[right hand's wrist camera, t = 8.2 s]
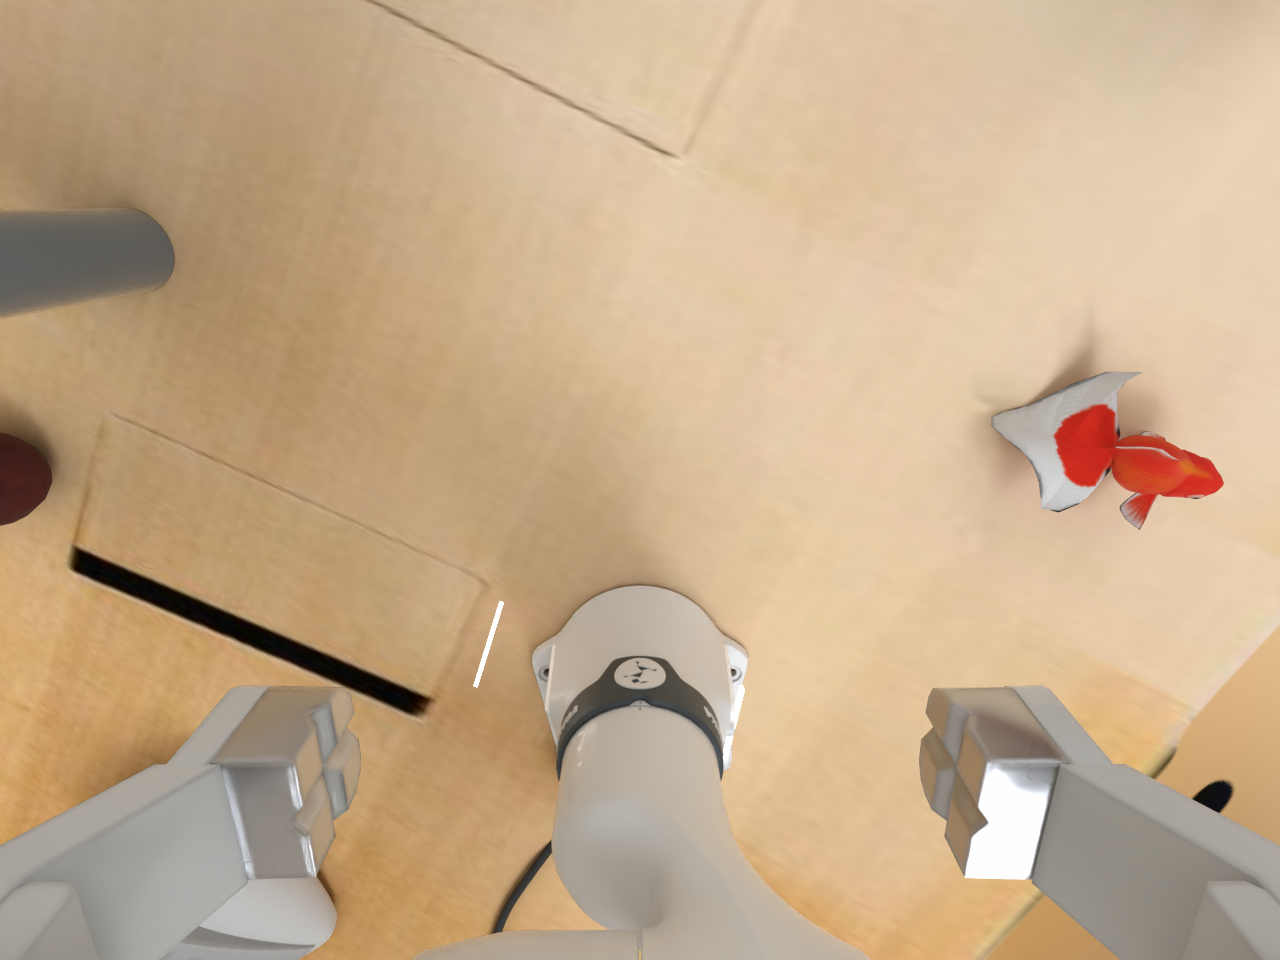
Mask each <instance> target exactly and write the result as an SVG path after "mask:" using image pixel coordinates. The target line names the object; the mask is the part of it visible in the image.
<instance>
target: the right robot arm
mask: <svg viewBox="0 0 1280 960" xmlns="http://www.w3.org/2000/svg"><path fill="white" fill-rule="evenodd" d="M503 603H504V602H501V601H500V603H499V606H498V609H497V612H496V615H495V618H494V622H493V625H492V628H491V631H490V635H489V638H488V641H487V644H486V648H485V651H484V654H483V657H482V661H481V664H480V667H479V670H478V674H477V677H476V680H475V683H474V686H475V687H477V686H478V683H479V680H480V677H481V674H482V671H483V667H484V664H485V661H486V658H487V654H488V651H489V648H490V645H491V642H492V638H493V635H494V632H495V629H496V625H497V622H498V619H499V616H500V613H501V609H502V606H503ZM532 665H533V669H534V672H535V676H536V679H537V683H538V686H539V690H540V693H541V696H542V700H543V703H544V707H545V712H546V714H547V717H548V720H549V724H550V727H551V731H552V734H553V738H554V741H555V745H556V754H557V760H556V762H557V774H558V779H559V789H558V796H557V803H556V811H555V818H554V826H553V833H552V840H551V841H550V843H549V844H548V845H547V846H546V848H545V849H544V850H543V852H542V853H541V854H540V856H539V857H538V858H537V860H536V861H535V862H534V864H533V865H532V867H531V868H530V869H529V871H528V872H527V874H526V875H525V876H524V878H523V879H522V880H521V882H520V883H519V885H518V886H517V888H516V889H515V890H514V892H513V893H512V895H511V896H510V898H509V900H508V901H507V903H506V905H505V906H504V908H503V910H502V912H501V914H500V916H499V919H498V921H497V924H496V926H495V929H494V932H493V934H490V935H485V936H480V937H475V938H470V939H466V940H462V941H458V942H454V943H450V944H446V945H442V946H438V947H434V948H430V949H426V950H423V951H420V952H419V953H418V954H416V955H415V956H414V957H413V958H412V959H411V960H639V950H640V951H641V960H871V959H870V958H869V957H868V956H867V955H866V954H865V953H864V952H863V951H861V950H860V949H858V948H856V947H854V946H852V945H850V944H848V943H846V942H844V941H843V940H841V939H839V938H837V937H835V936H833V935H831V934H830V933H828V932H826V931H825V930H823V929H821V928H820V927H818V926H817V925H815V924H813V923H812V922H810V921H809V920H808V919H806V918H805V917H804V916H802V915H801V914H800V913H798V912H797V911H796V910H794V909H793V908H792V907H791V906H790V905H789V904H787V903H786V902H785V901H784V900H783V899H782V898H781V897H780V896H779V895H778V894H777V893H776V892H775V891H773V890H772V889H771V888H770V887H769V886H768V885H767V883H766V882H765V881H764V880H763V879H762V878H761V877H760V876H759V874H758V873H757V872H756V871H755V870H754V868H753V867H752V866H751V865H750V863H749V862H748V861H747V859H746V858H745V856H744V855H743V853H742V852H741V850H740V848H739V846H738V844H737V842H736V840H735V838H734V836H733V833H732V829H731V826H730V822H729V818H728V815H727V811H726V806H725V802H724V797H723V792H722V786H721V779H722V775H723V770H728V769H729V768H730V764H731V757H732V747H731V742H732V738H733V735H734V731H735V726H736V722H737V718H738V714H739V710H740V706H741V702H742V698H743V694H744V687H743V686H742V683H743V679H744V676H745V672H746V669H747V665H748V654H747V651H746V650H745V649H744V648H743V647H742V646H741V645H740V644H738V643H737V642H735V641H733V640H732V639H730V638H728V637H726V636H725V635H723V634H722V633H721V632H720V631H719V630H718V629H717V628H716V626H715V625H714V623H713V622H712V621H711V619H710V618H709V617H708V615H707V614H706V613H705V612H704V611H703V610H702V609H701V608H700V607H699V606H698V605H696V604H695V603H694V602H693V601H691V600H689V599H688V598H686V597H684V596H683V595H681V594H678V593H676V592H673V591H671V590H668V589H664V588H660V587H654V586H642V585H638V586H626V587H620V588H616V589H612V590H609V591H607V592H604V593H602V594H600V595H598V596H596V597H594V598H592V599H591V600H589V601H588V602H586V603H585V604H584V605H582V606H581V607H580V608H579V609H578V610H577V611H576V612H575V613H574V614H573V615H572V617H571V618H570V619H569V621H568V622H567V623H566V625H565V626H564V628H563V629H562V630H561V631H560V632H559V633H558V634H557V635H555V636H554V637H552V638H550V639H548V640H547V641H545V642H543V643H542V644H540V645H539V646H538V647H537V648H536V649H535V650H534V652H533V655H532ZM545 669H549V672H547V671H546V670H545ZM731 669H735V670H734V671H733V672H731ZM353 714H354V709H353V704H352V699H351V694H350V692H349V691H348V690H347V689H345V688H344V687H309V686H274V687H273V686H238V687H235V688H232V689H230V690H229V691H228V692H227V693H226V694H225V696H224V697H223V698H222V699H221V700H220V701H219V703H218V704H217V705H216V706H215V707H214V709H213V710H212V711H211V712H210V713H209V714H208V716H207V717H206V718H205V719H204V720H203V722H202V723H201V724H200V725H199V726H198V727H197V729H196V730H195V731H194V732H193V733H192V735H191V736H190V737H189V738H188V739H187V740H186V742H185V743H184V744H183V745H182V746H181V747H180V749H179V750H178V751H177V752H176V753H175V755H174V756H173V757H172V758H171V759H170V760H169V762H168V763H167V764H154V765H152V766H150V767H148V768H147V769H145V770H143V771H141V772H139V773H137V774H135V775H133V776H131V777H129V778H127V779H126V780H124V781H122V782H120V783H118V784H116V785H114V786H112V787H110V788H108V789H107V790H105V791H103V792H101V793H99V794H97V795H95V796H93V797H91V798H89V799H88V800H86V801H84V802H82V803H80V804H78V805H76V806H74V807H72V808H70V809H69V810H67V811H65V812H63V813H61V814H59V815H57V816H55V817H53V818H51V819H50V820H48V821H46V822H44V823H42V824H40V825H38V826H36V827H34V828H32V829H30V830H29V831H27V832H25V833H23V834H21V835H19V836H17V837H15V838H13V839H11V840H10V841H8V842H6V843H4V844H2V845H0V960H160V959H161V958H162V957H164V956H165V955H166V954H167V953H168V952H169V951H170V950H172V949H173V948H174V947H175V946H176V945H177V944H179V943H180V942H181V941H182V940H183V939H184V938H185V937H187V936H188V935H189V934H190V933H191V932H192V931H194V930H195V929H196V928H197V927H198V926H199V925H200V924H202V923H203V922H204V921H205V920H206V919H207V918H209V917H210V916H211V915H212V914H213V913H214V912H216V911H217V910H218V909H219V908H220V907H221V906H222V905H224V904H225V903H226V902H227V901H228V900H229V899H231V898H232V897H233V896H234V895H235V894H236V893H237V892H239V891H240V890H241V889H242V888H243V887H244V886H246V885H247V884H248V879H282V878H315V877H316V875H317V873H318V871H319V869H320V867H321V865H322V863H323V861H324V859H325V857H326V855H327V852H328V850H329V848H330V846H331V844H332V842H333V840H334V838H335V830H334V824H333V820H335V819H336V818H337V817H339V816H340V815H342V814H343V813H344V812H346V811H347V810H348V809H349V807H350V804H351V802H352V800H353V798H354V796H355V793H356V789H357V785H358V780H359V775H360V766H361V753H360V746H359V739H358V738H357V737H356V736H355V735H354V734H353V733H352V732H351V731H350V730H349V729H348V728H347V725H348V723H349V722H350V720H351V718H352V716H353ZM926 714H927V716H928V718H929V720H930V722H931V723H932V725H933V728H932V729H931V730H930V731H929V732H928V733H927V734H926V735H925V736H924V737H923V738H922V739H921V747H920V755H919V765H920V776H921V782H922V786H923V789H924V793H925V796H926V798H927V800H928V802H929V804H930V807H931V809H932V810H933V811H934V812H936V813H937V814H938V815H940V816H941V817H943V818H944V819H945V820H947V824H946V830H945V838H946V840H947V842H948V844H949V846H950V848H951V850H952V852H953V854H954V857H955V859H956V861H957V863H958V865H959V867H960V869H961V871H962V873H963V875H964V877H965V878H997V879H1032V883H1033V884H1034V885H1035V886H1036V887H1037V888H1038V889H1039V890H1041V891H1042V892H1043V893H1044V894H1045V895H1046V896H1048V897H1049V898H1050V899H1051V900H1052V901H1053V902H1054V903H1056V904H1057V905H1058V906H1059V907H1060V908H1061V909H1063V910H1064V911H1065V912H1066V913H1067V914H1068V915H1069V916H1071V917H1072V918H1073V919H1074V920H1075V921H1076V922H1078V923H1079V924H1080V925H1081V926H1082V927H1083V928H1084V929H1086V930H1087V931H1088V932H1089V933H1090V934H1091V935H1093V936H1094V937H1095V938H1096V939H1097V940H1098V941H1099V942H1101V943H1102V944H1103V945H1104V946H1105V947H1106V948H1107V949H1109V950H1110V951H1111V952H1112V953H1113V954H1114V955H1116V956H1117V957H1118V958H1119V959H1120V960H1280V845H1278V844H1276V843H1274V842H1272V841H1270V840H1268V839H1266V838H1264V837H1262V836H1260V835H1259V834H1257V833H1255V832H1253V831H1251V830H1249V829H1247V828H1245V827H1243V826H1242V825H1240V824H1238V823H1236V822H1234V821H1232V820H1230V819H1228V818H1226V817H1225V816H1223V815H1221V814H1219V813H1217V812H1215V811H1213V810H1211V809H1209V808H1207V807H1206V806H1204V805H1202V804H1200V803H1198V802H1196V801H1194V800H1192V799H1190V798H1188V797H1187V796H1185V795H1183V794H1181V793H1179V792H1177V791H1175V790H1173V789H1171V788H1170V787H1168V786H1166V785H1164V784H1162V783H1160V782H1158V781H1156V780H1154V779H1152V778H1151V777H1149V776H1147V775H1145V774H1143V773H1141V772H1139V771H1137V770H1135V769H1133V768H1132V767H1130V766H1128V765H1126V764H1113V763H1112V762H1111V760H1110V759H1109V758H1108V757H1107V756H1106V755H1105V753H1104V752H1103V751H1102V750H1101V749H1100V748H1099V746H1098V745H1097V744H1096V743H1095V742H1094V740H1093V739H1092V738H1091V737H1090V736H1089V735H1088V733H1087V732H1086V731H1085V730H1084V729H1083V728H1082V726H1081V725H1080V724H1079V723H1078V722H1077V720H1076V719H1075V718H1074V717H1073V716H1072V715H1071V713H1070V712H1069V711H1068V710H1067V709H1066V707H1065V706H1064V705H1063V704H1062V703H1061V702H1060V700H1059V699H1058V698H1057V697H1056V696H1055V695H1054V693H1053V692H1052V691H1051V690H1050V689H1048V688H1046V687H1044V686H1042V685H1032V686H1005V687H990V688H933V689H932V691H931V693H930V695H929V697H928V702H927V708H926ZM726 738H727V739H726ZM551 853H552V854H553V860H554V864H555V867H556V870H557V873H558V875H559V877H560V879H561V881H562V883H563V884H564V886H565V888H566V889H567V891H568V893H569V894H570V895H571V897H572V898H573V900H574V901H575V903H576V904H577V905H578V906H579V908H580V909H581V910H582V911H583V912H584V913H585V914H586V915H587V916H588V917H590V918H591V919H592V920H594V921H595V922H597V923H598V924H600V925H601V926H603V927H604V928H606V929H608V930H509V931H504V932H502V930H503V927H504V925H505V922H506V920H507V918H508V916H509V914H510V912H511V910H512V908H513V906H514V905H515V903H516V901H517V900H518V898H519V897H520V895H521V894H522V892H523V891H524V890H525V888H526V887H527V885H528V884H529V883H530V881H531V880H532V879H533V877H534V876H535V874H536V873H537V872H538V870H539V869H540V867H541V866H542V865H543V863H544V862H545V861H546V859H547V858H548V857H549V855H550V854H551Z"/></svg>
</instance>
